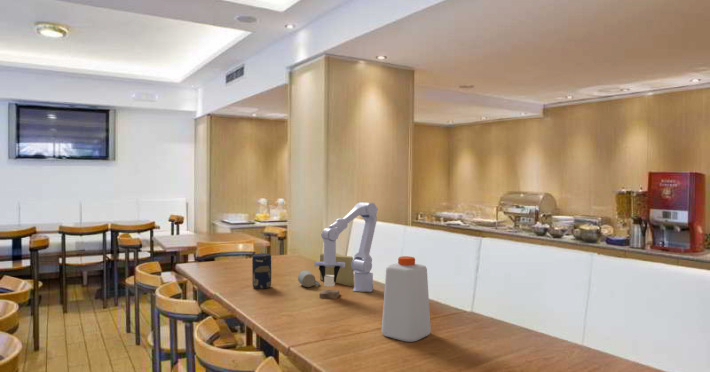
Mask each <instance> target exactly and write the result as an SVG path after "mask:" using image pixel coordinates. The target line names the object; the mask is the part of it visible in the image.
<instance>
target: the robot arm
mask: <svg viewBox="0 0 710 372" xmlns="http://www.w3.org/2000/svg"><path fill="white" fill-rule="evenodd" d="M378 210H379V209H378V207H377V205H376V203H374V202H365V201H364V202H363V201H359V202H357V204H354V206H353V208H352V209H351V210H350V211H349V212H348V213H347V214H346V215H345V216H344V217H343V218H342V217H339V218H337V219H336V220H335V221H334V222H333V223H332V224H330V225H329V226H328V227H325V228H324V229H323V230H322V231H321V233H320V234H321V238H322V241H323V253H324V262H320V261H314V263H313V264H314V265H313V266H314V267H319V268H318V270H319V273H320V272H321V275H322V278H323V280H322V281H323V283H324V276H325V268H326V267H334V282H336V278H337V274H338V272H339V269H340V267H345V263H344V262H336V251H337V240H338V238H339V236H340V234H342V232H343V231H344V230H346V229H347V228H348V224H350V223H351V222H352V221H353V220H355V219H356V218H358V216H360V217H361V218H362V219H363V220H364V226H363V227H364V228H363V230H362V236H361V238H360V239H361V240H360V244H359V249H358V252H357V253H355V254H354V257H353V260H352V263H351V266H352V268H353V269H354V285H353V289H352V292H368V293H370V292H371V293H372V292H373V289H374V273H373V272H371V271H372V267H373V263H372V262H373V258H372V256H371V255H370V253H371V249H372V243H373V239H374V235H375V229H376V225H377V220H378V217H377V214H378V213H377V212H378Z"/></svg>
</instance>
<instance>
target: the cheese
mask: <svg viewBox="0 0 710 372" xmlns="http://www.w3.org/2000/svg"><path fill="white" fill-rule="evenodd" d="M353 259H354V257H353V256H349V255H343V254H339V253H336V262H344V263H345V267H340V269H339V272H338V274H337V278H336V282H335V284H340V285H345V286H347V287H348V286H349V287H352V286H353V287H354V269H353V268H352V266H351V263H352V260H353ZM319 262H324V252H323V253H321V254H319ZM325 275H334V267H326V268H325ZM319 280H320V281H323V278H322V275H321V272H320V271H319Z"/></svg>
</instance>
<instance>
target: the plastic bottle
mask: <svg viewBox="0 0 710 372" xmlns="http://www.w3.org/2000/svg"><path fill="white" fill-rule="evenodd" d="M384 280H385V281H384V294H383V307H382V317H381V318H382V319H381V321H382V322H381V334H382V335H383V336H385V337H387V338H391V339H394V340H399V341H401V342H407V343H412V342H417V341H419V340H421V339H423V338H426V337H428V336H429V335H430V334H431V331H432V330H431V314H430V312H431V311H430V299H429V298H430V297H429V280H428V268H427V267H426V266H425V265H423V264H419V263H416V258H415V257H414V256H405V255H404V256H403V255H402V256H399V257H398V258H397V263H392V264H389V265H387V267H386V268H385V279H384Z"/></svg>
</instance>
